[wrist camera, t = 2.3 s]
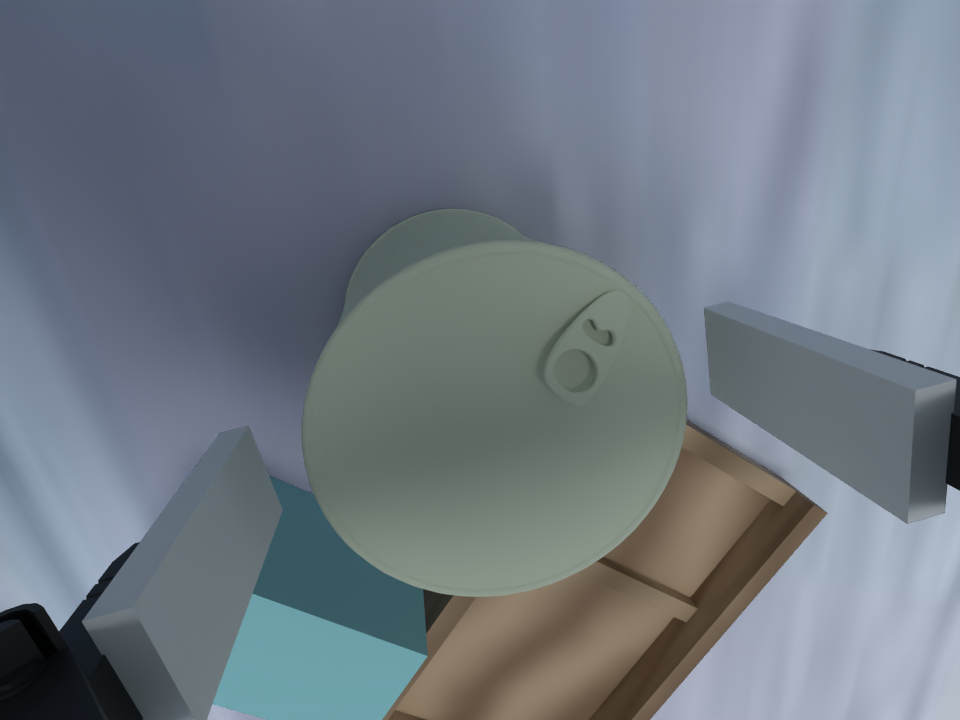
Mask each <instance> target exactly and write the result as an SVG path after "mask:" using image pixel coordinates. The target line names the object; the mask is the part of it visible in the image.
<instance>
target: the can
mask: <svg viewBox="0 0 960 720" xmlns="http://www.w3.org/2000/svg"><path fill="white" fill-rule="evenodd" d="M686 419H687V390H686V381H685V375H684V370H683V365H682V361H681V358H680V355H679V351H678V349H677V346H676V344H675V342H674V339H673V337H672V335H671V333H670V331H669V329H668V327H667V326H666V324H665V322H664V320H663V319H662V317H661V316H660V314H659V313H658V312H657V310H656V309H655V307H654V306H653V305H652V303H651V302H650V301H649V300H648V299H647V298H646V297H645V296H644V295H643V294H642V292H641V291H640V290H639V289H638V288H637V287H635V286H634V285H633V284H632V283H631V282H630V281H629V280H627V279H626V278H625V277H624V276H622V275H621V274H619V273H618V272H617V271H615V270H613V269H612V268H610V267H608V266H607V265H605V264H604V263H602V262H600V261H598V260H596V259H594V258H592V257H590V256H588V255H585V254H583V253H580V252H578V251H575V250H572V249H569V248H565V247H562V246H558V245H553V244H549V243H544V242H540V241H538V240H535V239H532V238H530V237H527V236H525V235H523V234H522V233H520V232H519V231H518V230H516V229H515V228H514V227H512V226H511V225H509V224H507V223H506V222H504V221H502V220H500V219H498V218H496V217H493V216H491V215H488V214H485V213H482V212H477V211H472V210H466V209H440V210H433V211H428V212H424V213H420V214H417V215H415V216H412V217H410V218H408V219H406V220H404V221H402V222H400V223H398V224H396V225H394V226H393V227H391V228H390V229H388V230H387V231H386V232H384V233H383V234H382V235H381V236H380V237H379V238H377V239H376V241H375V242H374V243H373V244H372V245H371V246H370V247H369V248H368V249H367V250H366V252H365V253H364V255H363V256H362V257H361V259H360V261H359V262H358V264H357V266H356V268H355V270H354V272H353V274H352V276H351V279H350V282H349V285H348V288H347V292H346V297H345V303H344V310H343V313H342V315H341V318H340V321H339V323H338V326H337V328H336V329H335V331H334V332H333V334H332V335H331V337H330V339H329V340H328V342H327V343H326V345H325V347H324V349H323V351H322V353H321V355H320V357H319V359H318V361H317V364H316V366H315V369H314V371H313V374H312V376H311V378H310V382H309V386H308V389H307V393H306V397H305V403H304V408H303V418H302V449H303V457H304V464H305V468H306V472H307V475H308V479H309V482H310V485H311V487H312V490H313V493H314V496H315V498H316V500H317V502H318V504H319V506H320V508H321V510H322V512H323V513H324V515H325V517H326V519H327V520H328V521H329V523H330V524H331V526H332V527H333V528H334V530H335V531H336V533H337V534H338V535H339V536H340V537H341V538H342V539H343V540H344V542H345V543H346V544H347V545H348V546H349V547H350V548H351V549H352V550H354V551H355V552H356V553H357V554H358V555H360V556H361V557H362V558H363V559H365V560H366V561H367V562H368V563H370V564H371V565H373V566H374V567H376V568H377V569H379V570H380V571H382V572H383V573H385V574H387V575H389V576H392V577H394V578H396V579H398V580H400V581H403V582H405V583H407V584H410V585H412V586H414V587H418V588H422V589H426V590H429V591H433V592H437V593H441V594H449V595H456V596H468V597H490V596H503V595H509V594H515V593H520V592H525V591H530V590H534V589H537V588H540V587H543V586H547V585H550V584H553V583H555V582H558V581H560V580H563V579H565V578H567V577H569V576H571V575H573V574H575V573H577V572H579V571H581V570H583V569H585V568H587V567H588V566H590V565H592V564H593V563H595V562H596V561H598V560H599V559H601V558H602V557H604V556H605V555H606V554H608V553H609V552H610V551H612V550H613V549H614V548H615V547H617V546H618V545H619V544H620V543H621V542H622V541H624V540H625V539H626V538H627V537H628V536H629V535H630V534H631V533H632V532H633V531H634V530H635V529H636V528H637V527H638V525H639V524H640V523H641V522H642V521H643V520H644V518H645V517H646V516H647V515H648V513H649V512H650V511H651V509H652V508H653V507H654V505H655V504H656V502H657V501H658V499H659V498H660V496H661V494H662V493H663V491H664V489H665V487H666V485H667V483H668V481H669V479H670V477H671V475H672V473H673V471H674V469H675V466H676V463H677V460H678V457H679V454H680V451H681V447H682V444H683V438H684V433H685V428H686Z"/></svg>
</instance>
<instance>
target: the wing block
mask: <svg viewBox="0 0 960 720" xmlns="http://www.w3.org/2000/svg"><path fill="white" fill-rule="evenodd" d="M269 477H270V480H271V482H272V485H273V487H274V490H275V492H276V495H277V497H278V500H279V502H280V504H281V507H282V509H283V511H282V513H281V516H280V519H279V522H278V524H277V527H276V530H275V533H274V535H273V538H272V541H271V544H270V547H269V549H268V552H267V555H266V558H265V560H264V563H263V566H262V569H261V571H260V574H259V577H258V580H257V582H256V585H255V588H254V591H253V593H252V596H251V599H250V602H249V604H248V607H247V610H246V613H245V615H244V618H243V621H242V624H241V626H240V629H239V632H238V635H237V637H236V640H235V643H234V646H233V648H232V651H231V654H230V657H229V659H228V662H227V665H226V668H225V671H224V673H223V676H222V679H221V682H220V684H219V687H218V690H217V693H216V695H215V698H214V701H213V704H214V705H218V706H221V707H225V708H228V709H232V710H235V711H239V712H242V713H246V714H249V715H253V716H256V717H260V718H263V719H267V720H382V719H383V718H384V716H385V715H386V714H387V712H388V711H389V709H390V708H391V707H392V705H393V704H394V702H395V701H396V700H397V698H398V697H399V696H400V694H401V693H402V691H403V690H404V689H405V687H406V686H407V684H408V683H409V682H410V680H411V679H412V677H413V676H414V675H415V673H416V672H417V670H418V669H419V668H420V666H421V665H422V663H423V662H424V661H425V659H426V658H427V657H428V652H427V638H426V624H425V610H424V596H423V589H422V588H418V587H414V586H412V585H410V584H407V583H405V582H403V581H400V580H398V579H396V578H394V577H392V576H389V575H387V574H385V573H383V572H382V571H380V570H379V569H377V568H376V567H374V566H373V565H371V564H370V563H368V562H367V561H366V560H365V559H363V558H362V557H361V556H360V555H358V554H357V553H356V552H355V551H354V550H352V549H351V548H350V547H349V546H348V545H347V544H346V543H345V542H344V540H343V539H342V538H341V537H340V536H339V535H338V534H337V533H336V531H335V530H334V528H333V527H332V526H331V524H330V523H329V521H328V520H327V519H326V517H325V515H324V513H323V512H322V510H321V508H320V506H319V504H318V502H317V500H316V498H315V496H314V495H313V494H311V493H309V492H306V491H304V490H302V489H299V488H297V487H295V486H292V485H290V484H288V483H285V482H283V481H281V480H278V479H276V478H274V477H271V476H269Z"/></svg>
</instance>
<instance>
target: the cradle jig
mask: <svg viewBox="0 0 960 720" xmlns="http://www.w3.org/2000/svg"><path fill="white" fill-rule="evenodd" d="M826 514H827V512H826V511H824V510H823V509H822V508H820V507H819V506H818V505H817V504H815V503H814V502H813V501H811V500H810V499H809V498H807V497H806V496H805V495H804V494H802V493H801V492H800V491H798V490H797V489H796V488H795V487H793V486H792V485H791V484H789V483H788V482H787V481H785V480H784V479H783V478H781V477H780V476H778V475H776V474H775V473H773V472H771V471H770V470H768V469H766V468H765V467H763V466H762V465H760V464H758V463H757V462H755V461H753V460H752V459H750V458H748V457H747V456H745V455H743V454H742V453H740V452H739V451H737V450H735V449H734V448H732V447H730V446H729V445H727V444H725V443H724V442H722V441H720V440H719V439H717V438H715V437H714V436H712V435H711V434H709V433H707V432H706V431H704V430H702V429H701V428H699V427H697V426H696V425H694V424H692V423H691V422H689V421H688V420H686V428H685V433H684V438H683V444H682V447H681V451H680V454H679V457H678V460H677V463H676V466H675V469H674V471H673V473H672V475H671V477H670V479H669V481H668V483H667V485H666V487H665V489H664V491H663V493H662V494H661V496H660V498H659V499H658V501H657V502H656V504H655V505H654V507H653V508H652V509H651V511H650V512H649V513H648V515H647V516H646V517H645V518H644V520H643V521H642V522H641V523H640V524H639V525H638V527H637V528H636V529H635V530H634V531H633V532H632V533H631V534H630V535H629V536H628V537H627V538H626V539H625V540H624V541H622V542H621V543H620V544H619V545H618V546H617V547H615V548H614V549H613V550H612V551H610V552H609V553H608V554H606V555H605V556H604V557H602V558H601V559H599V560H598V561H596V562H595V563H593V564H592V565H590V566H588V567H587V568H585V569H583V570H581V571H579V572H577V573H575V574H573V575H571V576H569V577H567V578H565V579H563V580H560V581H558V582H555V583H553V584H550V585H547V586H543V587H540V588H537V589H534V590H530V591H525V592H520V593H515V594H509V595H503V596H490V597H468V596H456V595H449V594H441V593H437V592H433V591H429V590H426V589H423V596H424V610H425V624H426V638H427V652H428V657H427V658H426V659H425V661H424V662H423V663H422V665H421V666H420V668H419V669H418V670H417V672H416V673H415V675H414V676H413V677H412V679H411V680H410V682H409V683H408V684H407V686H406V687H405V689H404V690H403V691H402V693H401V694H400V696H399V697H398V698H397V700H396V701H395V702H394V704H393V705H392V707H391V708H390V709H389V711H388V712H387V714H386V715H385V716H384V718H383V719H382V720H650V719H651V718H652V717H653V716H654V714H655V713H656V712H657V711H658V710H659V709H660V707H661V706H662V705H663V704H664V703H665V702H666V700H667V699H668V698H669V697H670V696H671V695H672V693H673V692H674V691H675V690H676V689H677V688H678V686H679V685H680V684H681V683H682V682H683V681H684V680H685V678H686V677H687V676H688V675H689V674H690V673H691V671H692V670H693V669H694V668H695V667H696V666H697V664H698V663H699V662H700V661H701V660H702V659H703V657H704V656H705V655H706V654H707V653H708V652H709V650H710V649H711V648H712V647H713V646H714V645H715V643H716V642H717V641H718V640H719V639H720V638H721V636H722V635H723V634H724V633H725V632H726V631H727V630H728V628H729V627H730V626H731V625H732V624H733V623H734V621H735V620H736V619H737V618H738V617H739V616H740V614H741V613H742V612H743V611H744V610H745V609H746V607H747V606H748V605H749V604H750V603H751V602H752V600H753V599H754V598H755V597H756V596H757V595H758V593H759V592H760V591H761V590H762V589H763V588H764V586H765V585H766V584H767V583H768V582H769V581H770V580H771V578H772V577H773V576H774V575H775V574H776V573H777V571H778V570H779V569H780V568H781V567H782V566H783V564H784V563H785V562H786V561H787V560H788V559H789V557H790V556H791V555H792V554H793V553H794V552H795V550H796V549H797V548H798V547H799V546H800V545H801V543H802V542H803V541H804V540H805V539H806V538H807V537H808V535H809V534H810V533H811V532H812V531H813V530H814V528H815V527H816V526H817V525H818V524H819V523H820V521H821V520H822V519H823V518H824V517H825V516H826Z"/></svg>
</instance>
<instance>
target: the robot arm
mask: <svg viewBox="0 0 960 720" xmlns="http://www.w3.org/2000/svg"><path fill="white" fill-rule="evenodd" d="M704 315H705V327H706V340H707V352H708V365H709V377H710V390H711V395H713V396H714V397H716V398H717V399H719V400H720V401H722V402H723V403H725V404H726V405H728V406H729V407H731V408H732V409H734V410H735V411H737V412H738V413H740V414H741V415H743V416H744V417H746V418H747V419H749V420H750V421H752V422H753V423H755V424H757V425H758V426H760V427H761V428H763V429H764V430H766V431H767V432H769V433H770V434H772V435H773V436H775V437H776V438H778V439H779V440H781V441H782V442H784V443H785V444H787V445H788V446H790V447H791V448H793V449H794V450H796V451H797V452H799V453H800V454H802V455H804V456H805V457H807V458H808V459H810V460H811V461H813V462H814V463H816V464H817V465H819V466H820V467H822V468H823V469H825V470H826V471H828V472H829V473H831V474H832V475H834V476H835V477H837V478H838V479H840V480H841V481H843V482H844V483H846V484H848V485H849V486H851V487H852V488H854V489H855V490H857V491H858V492H860V493H861V494H863V495H864V496H866V497H867V498H869V499H870V500H872V501H873V502H875V503H876V504H878V505H879V506H881V507H882V508H884V509H885V510H887V511H888V512H890V513H891V514H893V515H895V516H896V517H898V518H899V519H901V520H902V521H904V522H905V523H907V524H909V523H913V522H916V521H919V520H923V519H926V518H930V517H933V516H936V515H940V514H943V513H945V505H946V493H947V484H948V485H950V486H952V487H954V488H956V489H958V490H960V377H958V376H955V375H952V374H949V373H946V372H943V371H940V370H937V369H934V368H931V367H924V365H922V364H919V363H916V362H913V361H906V359H904V358H901V357H898V356H895V355H892V354H889V353H886V352H883V351H876V350H870V349H866V348H863V347H861V346H858V345H855V344H852V343H849V342H846V341H843V340H840V339H837V338H834V337H831V336H828V335H825V334H822V333H820V332H817V331H814V330H811V329H808V328H805V327H802V326H799V325H796V324H793V323H790V322H787V321H784V320H781V319H779V318H776V317H773V316H770V315H767V314H764V313H761V312H758V311H755V310H752V309H749V308H746V307H743V306H740V305H738V304H735V303H732V302H725V303H721V304H718V305H714V306H710V307H706V308H704ZM282 511H283V509H282V507H281V504H280V502H279V500H278V497H277V495H276V492H275V490H274V487H273V485H272V482H271V480H270V477H269V475H268V472H267V470H266V467H265V465H264V463H263V460H262V458H261V455H260V453H259V450H258V448H257V445H256V443H255V440H254V438H253V435H252V433H251V431H250V428H249V426H245V427H241V428H237V429H233V430H230V431H226V432H222V433H220V434H219V435H218V437H217V438H216V439H215V441H214V442H213V443H212V445H211V446H210V448H209V449H208V450H207V452H206V453H205V454H204V456H203V457H202V458H201V460H200V461H199V463H198V464H197V465H196V467H195V468H194V469H193V471H192V472H191V473H190V475H189V476H188V477H187V479H186V480H185V482H184V483H183V484H182V486H181V487H180V488H179V490H178V491H177V492H176V494H175V495H174V497H173V498H172V499H171V501H170V502H169V503H168V505H167V506H166V507H165V509H164V510H163V512H162V513H161V514H160V516H159V517H158V518H157V520H156V521H155V522H154V524H153V525H152V527H151V528H150V529H149V531H148V532H147V533H146V535H145V536H144V537H143V539H142V540H141V542H138V543H135V544H133V545H132V546H131V547H130V548H129V549H127V550H126V551H125V552H124V553H123V554H122V555H120V556H119V557H118V558H117V559H116V560H114V561H113V562H112V563H111V565H110V566H109V567H108V569H107V570H106V571H105V573H104V574H103V575H102V576H101V578H100V579H99V580H98V584H95V586H94V587H93V588H92V589H91V591H90V592H89V593H88V595H87V596H86V597H87V599H86V600H83V601H82V602H81V604H80V605H79V606H78V608H77V609H76V610H75V612H74V613H73V614H72V615H71V617H70V618H69V619H68V621H67V622H66V623H65V625H64V626H63V627H62V628H61V630H60V631H58V630H57V628H56V626H55V625H54V623H53V622H52V620H51V618H50V617H49V615H48V614H47V612H46V610H45V609H44V607H42V606H41V605H39V604H37V603H32V604H23V605H20V606H17V607H14V608H11V609H8V610H5V611H3V612H1V613H0V720H207V717H208V715H209V712H210V709H211V706H212V704H213V701H214V698H215V695H216V693H217V690H218V687H219V684H220V682H221V679H222V676H223V673H224V671H225V668H226V665H227V662H228V659H229V657H230V654H231V651H232V648H233V646H234V643H235V640H236V637H237V635H238V632H239V629H240V626H241V624H242V621H243V618H244V615H245V613H246V610H247V607H248V604H249V602H250V599H251V596H252V593H253V591H254V588H255V585H256V582H257V580H258V577H259V574H260V571H261V569H262V566H263V563H264V560H265V558H266V555H267V552H268V549H269V547H270V544H271V541H272V538H273V535H274V533H275V530H276V527H277V524H278V522H279V519H280V516H281V513H282Z"/></svg>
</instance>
